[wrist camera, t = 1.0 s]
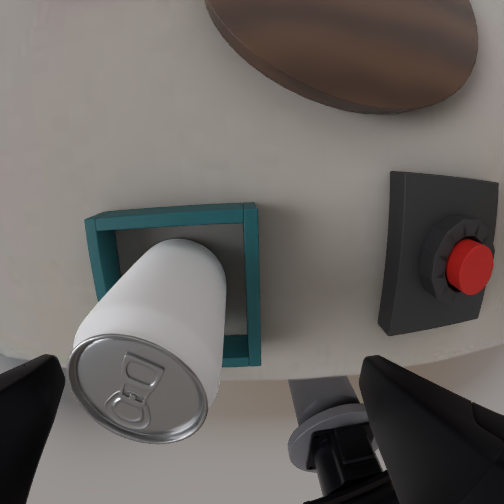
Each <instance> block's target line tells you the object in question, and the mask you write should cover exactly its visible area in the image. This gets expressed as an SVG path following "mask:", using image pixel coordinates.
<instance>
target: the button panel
mask: <svg viewBox="0 0 504 504" xmlns="http://www.w3.org/2000/svg"><path fill="white" fill-rule="evenodd" d="M498 187H499V183H496V182H490V181H484V180H477V179H469V178H461V177H452V176H443V175H433V174H422V173H410V172H397V171H391V172H390V208H389V226H388V241H387V252H386V263H385V272H384V281H383V289H382V297H381V304H380V311H379V317H378V324H379V326H380V327H381V328H382V329H383V330H384V332H385V333H386V334H387V335H388V336H393V335H399V334H405V333H411V332H416V331H422V330H427V329H432V328H437V327H442V326H447V325H451V324H456V323H460V322H465V321H469V320H473V319H477V318H478V316H479V312H480V308H481V304H482V300H483V296H484V291H485V287H486V285H485V287H484V288H483V289H482V290H481V291H480V292H478V293H477V294H474V295H467V294H465V293H463V292H462V291H460V290H459V289H457V288H456V287H454V286H453V285H451V284H450V283H449V281H448V279H447V277H446V262H447V258H448V256H449V255H450V253H451V251H452V249H453V247H454V246H455V245H456V244H457V243H458V242H460V241H461V240H464V239H471V240H473V241H476V242H478V243H481V244H483V245H485V246H487V247H488V248H489V249H490V251H491V252H492V256H493V259H494V253H495V250H494V245H493V242H494V234H495V226H496V216H497V204H498Z"/></svg>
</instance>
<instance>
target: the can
mask: <svg viewBox="0 0 504 504" xmlns="http://www.w3.org/2000/svg"><path fill="white" fill-rule="evenodd" d="M225 308H226V277H225V273H224V270H223V267H222V265H221V263H220V262H219V260H218V259H217V257H216V256H215V255H214V254H213V253H212V252H211V251H210V250H209V249H207V248H206V247H204V246H203V245H201V244H199V243H197V242H194V241H191V240H187V239H169V240H165V241H162V242H160V243H158V244H156V245H154V246H153V247H151V248H150V249H149V250H148V251H147V252H146V253H145V254H144V255H142V256H141V257H140V258H139V260H138V261H137V262H136V263H135V264H134V265H133V266H132V267H131V268H130V269H129V270H128V271H127V272H126V273H125V274H124V275H123V276H122V277H121V278H120V279H119V280H118V281H117V283H116V284H115V285H114V286H113V287H112V288H111V289H110V290H109V291H108V292H107V293H106V295H105V296H104V297H103V298H102V299H101V300H100V301H99V302H98V303H97V305H96V306H95V307H94V308H93V309H92V310H91V312H90V313H89V314H88V315H87V317H86V318H85V319H84V320H83V322H82V323H81V325H80V327H79V328H78V330H77V333H76V336H75V339H74V345H73V351H72V352H71V354H70V356H69V359H68V362H67V379H68V383H69V387H70V389H71V391H72V394H73V396H74V397H75V399H76V401H77V402H78V404H79V405H80V406H81V408H82V409H83V410H84V411H85V412H86V413H87V414H88V415H89V416H90V417H91V418H92V419H93V420H95V421H96V422H97V423H98V424H100V425H101V426H103V427H104V428H106V429H107V430H109V431H111V432H113V433H115V434H117V435H119V436H121V437H124V438H127V439H130V440H133V441H137V442H142V443H149V444H166V443H173V442H177V441H181V440H183V439H185V438H188V437H190V436H191V435H193V434H194V433H195V432H197V431H198V430H199V429H200V427H201V426H202V425H203V423H204V421H205V419H206V416H207V412H208V409H209V408H210V407H211V406H212V404H213V402H214V401H215V399H216V397H217V394H218V391H219V387H220V381H221V371H222V356H223V341H224V324H225Z"/></svg>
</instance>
